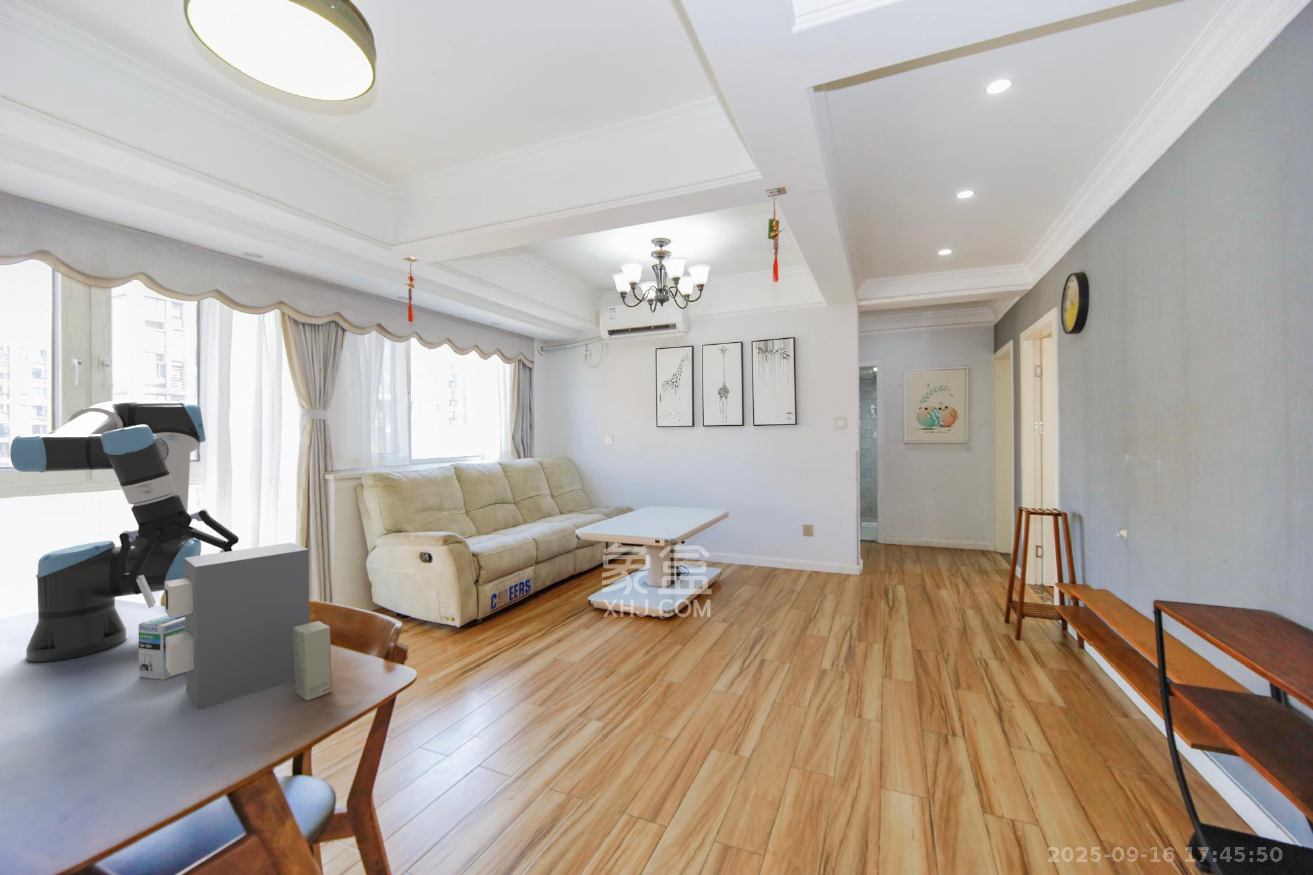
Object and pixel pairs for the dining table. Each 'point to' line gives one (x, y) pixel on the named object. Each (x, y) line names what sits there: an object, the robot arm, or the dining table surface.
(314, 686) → the skincare box
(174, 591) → the white protruding block
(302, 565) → the grey upright slab
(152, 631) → the light bulb box
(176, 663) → the plain button
